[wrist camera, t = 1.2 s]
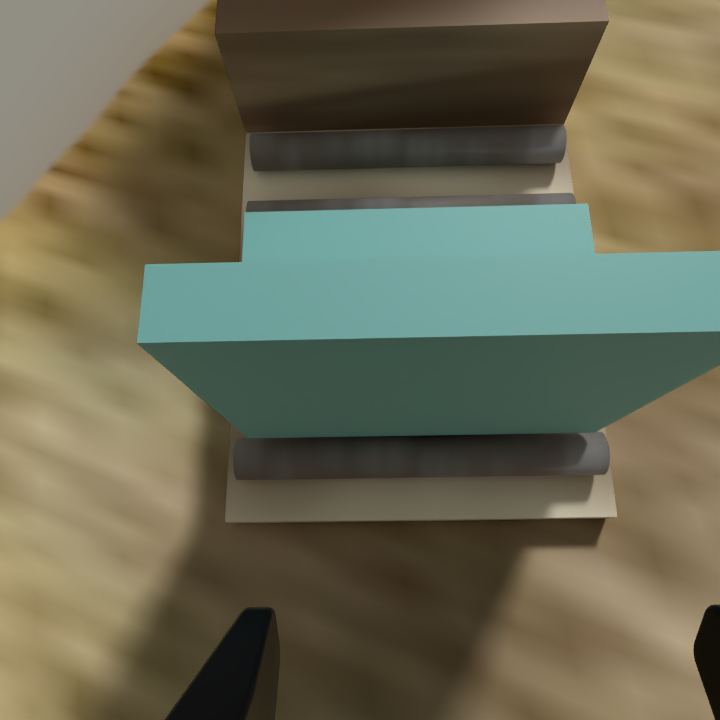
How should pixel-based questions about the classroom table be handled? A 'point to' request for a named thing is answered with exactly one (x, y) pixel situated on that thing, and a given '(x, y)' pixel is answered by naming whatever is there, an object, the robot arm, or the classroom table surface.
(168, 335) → the teal l-shaped block
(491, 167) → the roller track
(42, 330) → the classroom table surface
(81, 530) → the classroom table surface
